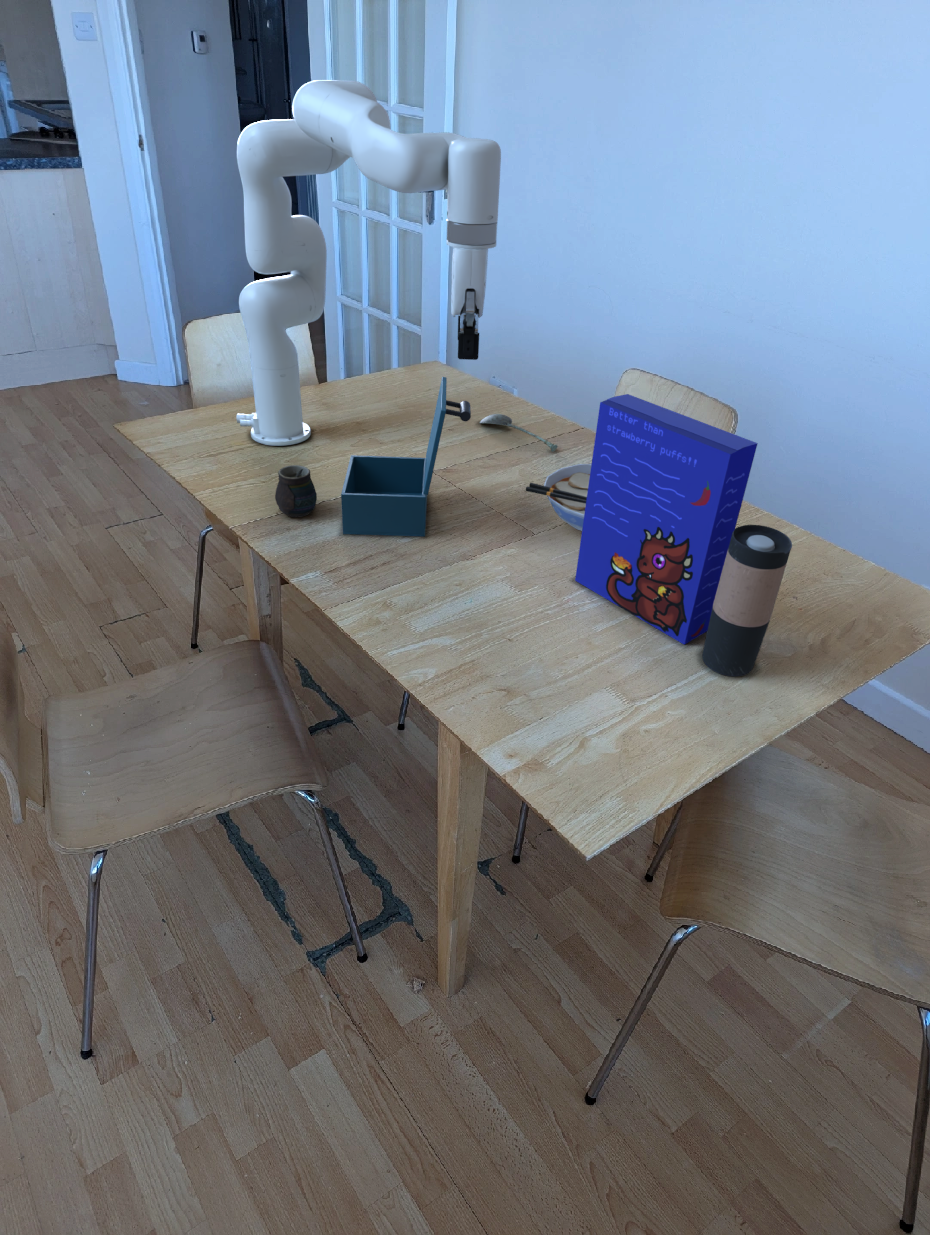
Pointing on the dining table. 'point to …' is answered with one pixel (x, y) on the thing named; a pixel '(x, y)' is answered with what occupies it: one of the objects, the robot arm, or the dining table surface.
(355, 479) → the blue open rectangular box
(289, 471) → the mate gourd
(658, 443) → the cereal box
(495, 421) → the soupspoon
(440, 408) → the lid
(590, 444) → the dining table surface
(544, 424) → the dining table surface
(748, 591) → the travel mug
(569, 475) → the ramen bowl
